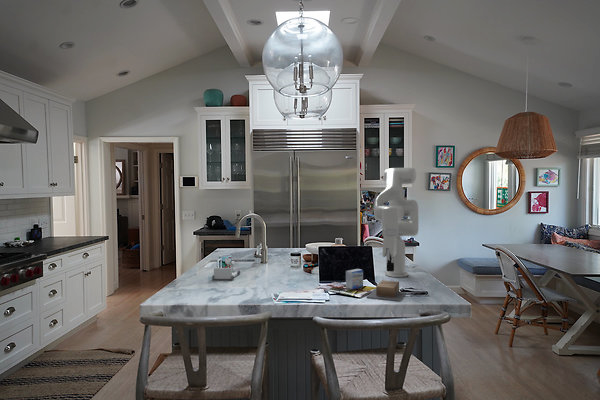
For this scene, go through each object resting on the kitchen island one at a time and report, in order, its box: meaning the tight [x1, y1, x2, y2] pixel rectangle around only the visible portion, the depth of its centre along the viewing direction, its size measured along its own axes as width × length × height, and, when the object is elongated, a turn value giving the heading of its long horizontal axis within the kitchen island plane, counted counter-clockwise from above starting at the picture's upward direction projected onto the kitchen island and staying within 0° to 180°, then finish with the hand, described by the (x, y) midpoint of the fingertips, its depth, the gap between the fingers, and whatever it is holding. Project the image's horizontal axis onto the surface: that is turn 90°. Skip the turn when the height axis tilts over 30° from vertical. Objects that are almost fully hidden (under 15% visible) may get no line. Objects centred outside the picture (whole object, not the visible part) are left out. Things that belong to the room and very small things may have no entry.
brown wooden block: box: [375, 280, 400, 297], centre depth 185 cm, size 4×8×12 cm
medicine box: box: [345, 268, 364, 290], centre depth 198 cm, size 8×4×9 cm, turn 126°
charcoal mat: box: [366, 288, 407, 303], centre depth 183 cm, size 14×15×1 cm
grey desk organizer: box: [211, 257, 241, 282], centre depth 225 cm, size 18×10×12 cm
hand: (390, 270), depth 190 cm, fingers closed
